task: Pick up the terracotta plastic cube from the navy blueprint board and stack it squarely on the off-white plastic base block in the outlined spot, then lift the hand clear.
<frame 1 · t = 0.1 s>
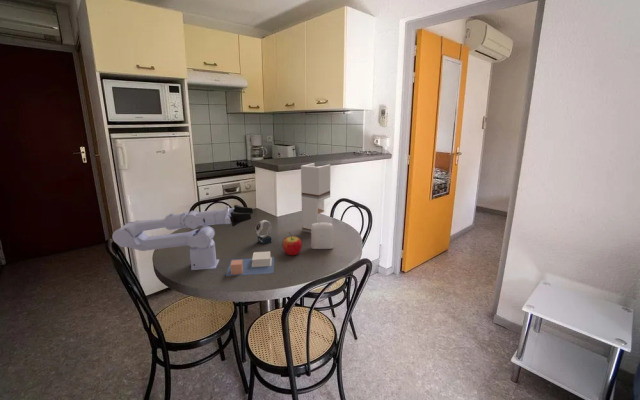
hand: (251, 213, 120), 22 cm above the table, fingers open, 7 cm apart
tall white column: (316, 229, 163), on the table
blueprint board: (251, 267, 122), on the table
watch: (264, 242, 146), on the table
base block: (261, 262, 125), resting on blueprint board
terracotta block: (237, 271, 117), resting on blueprint board
apple: (292, 254, 134), on the table
photo printer: (322, 248, 140), on the table
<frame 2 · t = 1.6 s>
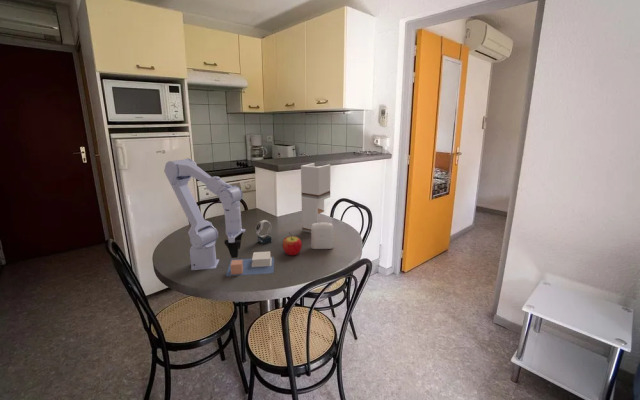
hand: (235, 253, 115), 8 cm above the table, fingers open, 7 cm apart
nothing on the table moved.
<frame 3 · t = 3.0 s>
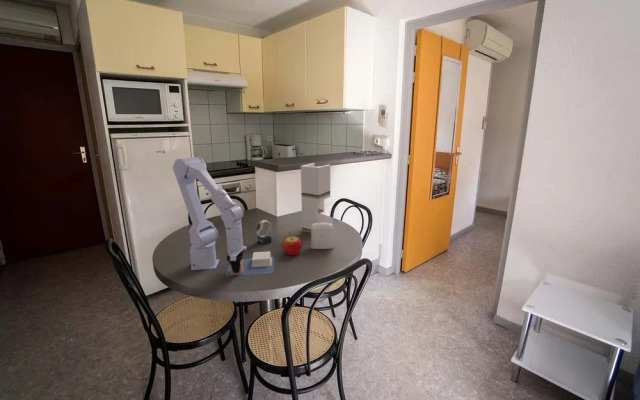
hand: (237, 269, 117), 1 cm above the table, fingers closed on terracotta block, 4 cm apart
terracotta block: (237, 271, 117), resting on blueprint board, touching gripper
everything else where it was.
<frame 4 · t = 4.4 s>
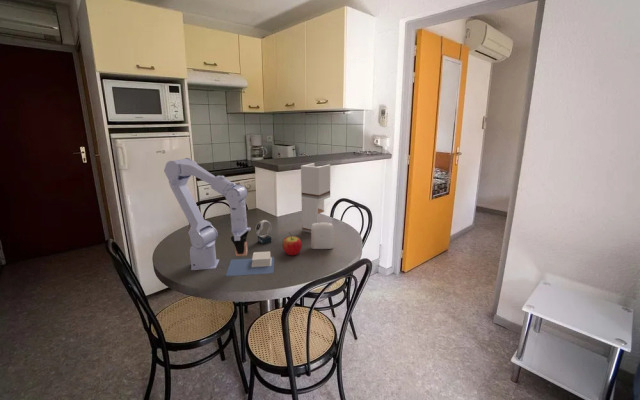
hand: (241, 251, 117), 8 cm above the table, fingers closed on terracotta block, 4 cm apart
terracotta block: (241, 253, 117), point 7 cm above the table, touching gripper
everything else where it was.
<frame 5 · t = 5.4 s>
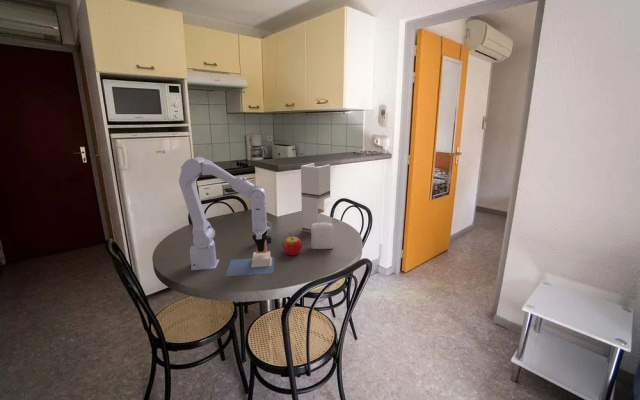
hand: (261, 249, 124), 6 cm above the table, fingers closed on terracotta block, 4 cm apart
terracotta block: (261, 251, 124), point 5 cm above the table, touching gripper
everything else where it was.
when the fingers open (6 cm above the table, at t = 6.0 s): terracotta block drops 1 cm, resting on base block.
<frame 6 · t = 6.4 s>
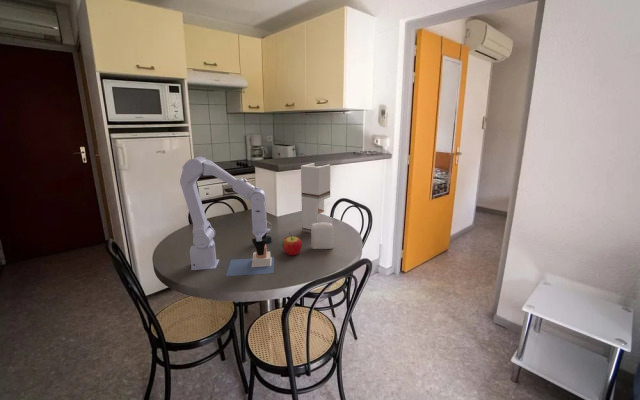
hand: (261, 250, 124), 6 cm above the table, fingers open, 7 cm apart
base block: (261, 262, 125), resting on blueprint board, touching terracotta block
terracotta block: (261, 255, 124), point 3 cm above the table, touching base block
everything else where it was.
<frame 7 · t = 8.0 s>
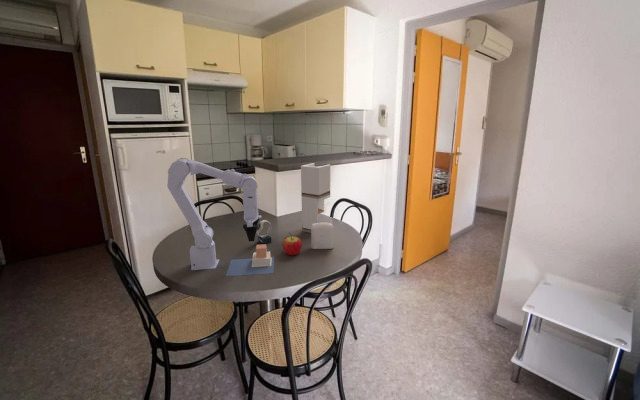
hand: (252, 237, 125), 10 cm above the table, fingers open, 7 cm apart
nothing on the table moved.
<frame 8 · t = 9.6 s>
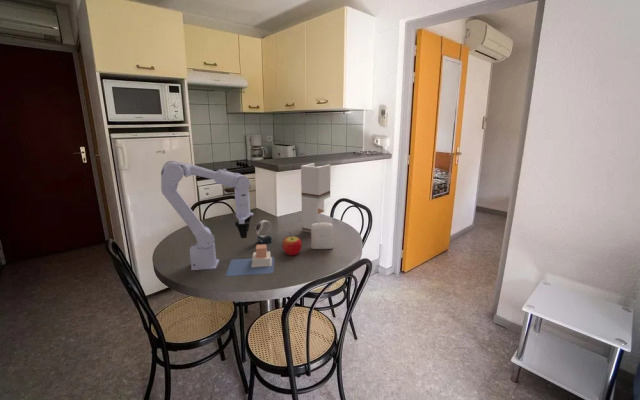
hand: (244, 234, 128), 10 cm above the table, fingers open, 7 cm apart
nothing on the table moved.
at the end: terracotta block 0.1 cm off-centre on the base block, point 3.0 cm above the base block's base; terracotta block tilted 0°; base block moved 0.1 cm from its start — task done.
